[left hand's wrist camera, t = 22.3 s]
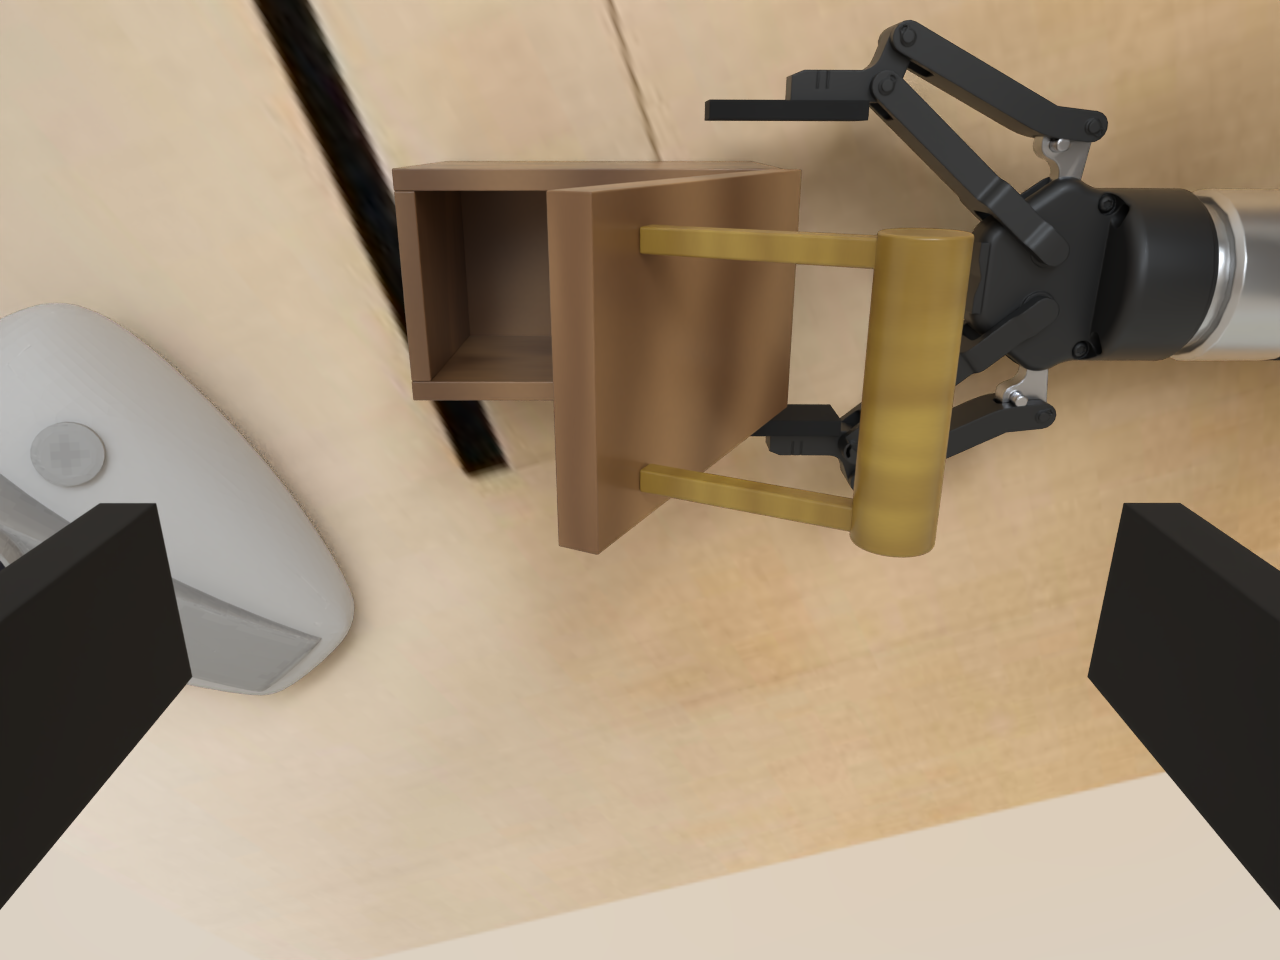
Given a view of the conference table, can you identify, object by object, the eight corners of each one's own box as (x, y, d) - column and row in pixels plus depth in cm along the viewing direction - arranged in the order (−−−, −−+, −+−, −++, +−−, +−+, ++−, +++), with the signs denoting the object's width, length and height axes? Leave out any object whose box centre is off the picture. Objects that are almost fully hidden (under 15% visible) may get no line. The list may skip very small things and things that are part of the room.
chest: (458, 347, 48) (413, 400, 38) (445, 161, 45) (391, 168, 35) (745, 347, 48) (771, 400, 38) (753, 161, 45) (783, 168, 35)
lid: (558, 546, 25) (907, 626, 21) (545, 189, 21) (959, 203, 17) (758, 403, 38) (996, 435, 34) (770, 169, 35) (1035, 173, 31)
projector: (7, 668, 55) (-202, 845, 41) (-103, 289, 47) (-411, 354, 33) (371, 668, 55) (281, 845, 41) (323, 289, 47) (193, 354, 33)
